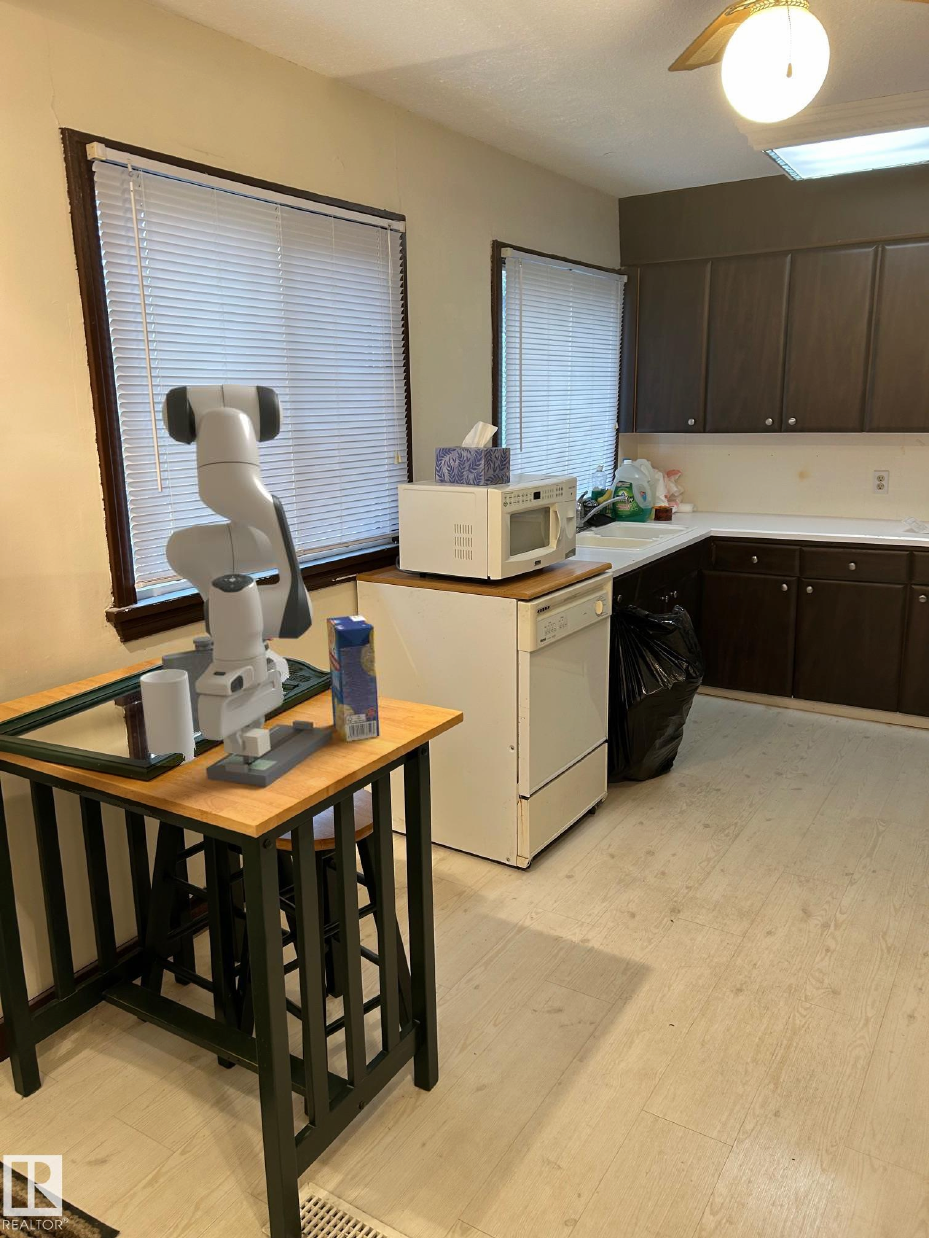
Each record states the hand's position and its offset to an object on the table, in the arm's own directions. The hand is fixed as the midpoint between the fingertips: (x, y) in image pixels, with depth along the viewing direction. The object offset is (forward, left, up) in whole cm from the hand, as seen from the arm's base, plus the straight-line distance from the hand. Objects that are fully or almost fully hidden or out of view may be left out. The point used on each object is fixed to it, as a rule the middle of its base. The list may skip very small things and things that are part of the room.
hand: (247, 746), depth 156 cm
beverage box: (-25, +8, -5) cm, 27 cm away
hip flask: (-14, -18, -5) cm, 24 cm away
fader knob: (0, 0, -3) cm, 3 cm away
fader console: (-8, 0, -5) cm, 9 cm away
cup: (-2, -18, -5) cm, 19 cm away
